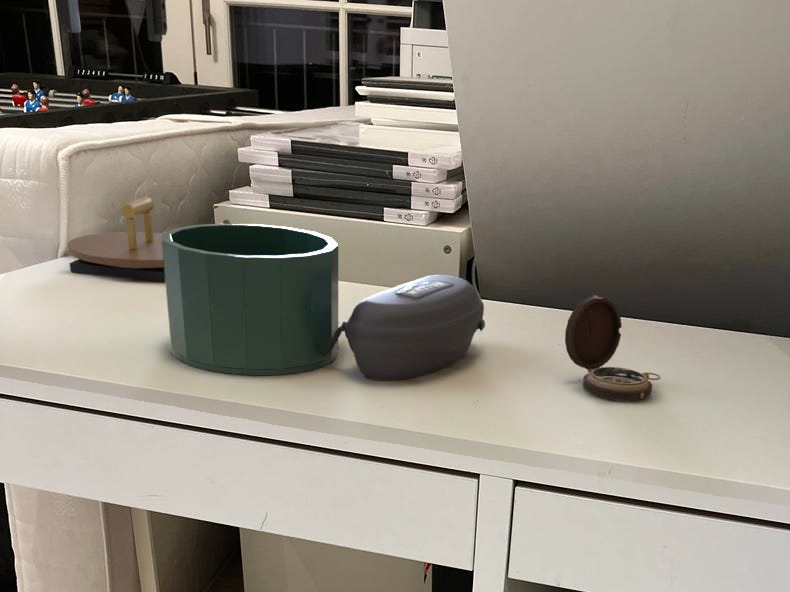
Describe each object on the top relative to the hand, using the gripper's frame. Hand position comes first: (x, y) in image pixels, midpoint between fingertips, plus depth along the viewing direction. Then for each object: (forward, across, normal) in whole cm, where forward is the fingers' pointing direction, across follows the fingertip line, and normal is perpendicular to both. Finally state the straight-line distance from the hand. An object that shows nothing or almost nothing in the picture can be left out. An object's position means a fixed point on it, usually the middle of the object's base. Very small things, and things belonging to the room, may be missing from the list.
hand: (114, 36), depth 99 cm
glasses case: (+23, +35, -24) cm, 48 cm away
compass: (+23, +54, -26) cm, 64 cm away
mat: (+23, 0, +2) cm, 23 cm away
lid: (+21, 0, +2) cm, 21 cm away
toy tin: (+23, +21, -26) cm, 40 cm away
